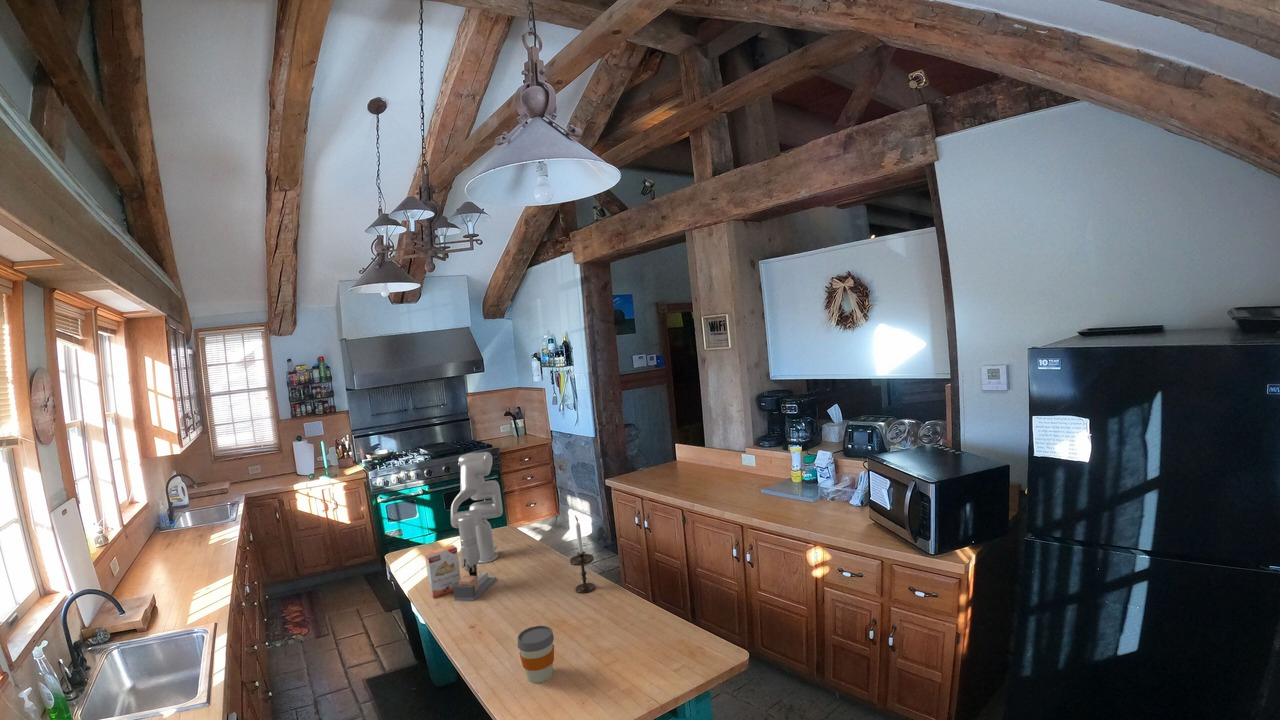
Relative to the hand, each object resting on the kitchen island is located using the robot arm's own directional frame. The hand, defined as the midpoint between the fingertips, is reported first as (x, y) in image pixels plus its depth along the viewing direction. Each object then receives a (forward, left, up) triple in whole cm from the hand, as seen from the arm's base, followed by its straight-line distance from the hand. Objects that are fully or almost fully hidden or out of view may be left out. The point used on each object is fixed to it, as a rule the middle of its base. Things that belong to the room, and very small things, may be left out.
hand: (473, 578), depth 291 cm
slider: (+5, 0, -4) cm, 7 cm away
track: (-1, 0, -6) cm, 6 cm away
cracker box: (+1, -15, -6) cm, 16 cm away
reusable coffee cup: (+64, +62, -6) cm, 89 cm away
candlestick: (-3, +55, -6) cm, 55 cm away
